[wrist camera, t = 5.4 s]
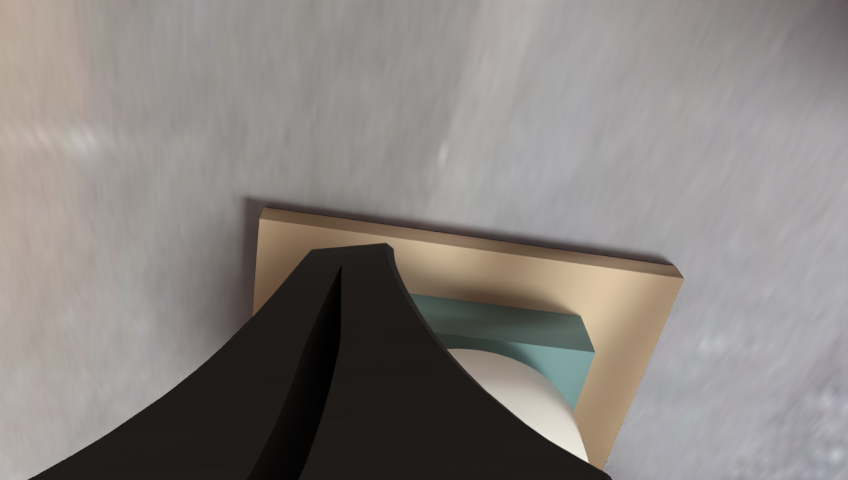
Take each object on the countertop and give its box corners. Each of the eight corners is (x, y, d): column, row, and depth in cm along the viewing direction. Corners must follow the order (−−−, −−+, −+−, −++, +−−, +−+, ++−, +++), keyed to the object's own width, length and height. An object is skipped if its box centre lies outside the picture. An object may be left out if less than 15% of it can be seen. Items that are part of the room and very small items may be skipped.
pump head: (590, 318, 23) (628, 407, 19) (528, 490, 27) (549, 593, 23) (341, 285, 22) (330, 373, 18) (314, 469, 26) (300, 572, 22)
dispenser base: (675, 266, 24) (707, 313, 21) (576, 504, 29) (592, 563, 27) (263, 207, 22) (247, 250, 19) (243, 471, 28) (228, 530, 25)
